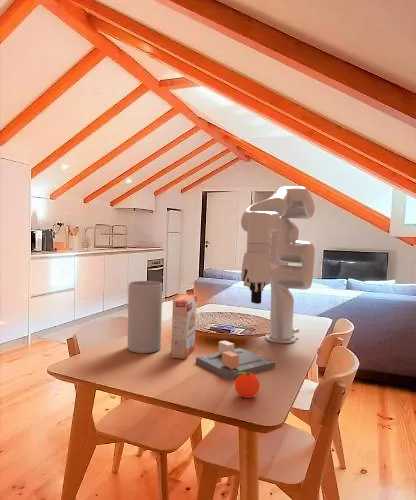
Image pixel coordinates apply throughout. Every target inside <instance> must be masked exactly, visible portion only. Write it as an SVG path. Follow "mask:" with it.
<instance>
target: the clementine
mask: <svg viewBox="0 0 416 500" xmlns="http://www.w3.org/2000/svg"><path fill="white" fill-rule="evenodd" d="M237 374H240V375H239V376H238V377H237V378H235V382H234V389H235V391H236V393H237V395H239V396H240V397H242V398H244V399H252V398H253V397H256V395H257V394H258V392H260V387H261V384H260V380H259V378H258V377H257V376H256V374H255V373H250V372H239V373H237ZM235 375H236V374H235ZM233 377H234V376H233Z"/></svg>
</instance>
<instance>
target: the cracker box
mask: <svg viewBox="0 0 416 500" xmlns="http://www.w3.org/2000/svg"><path fill="white" fill-rule="evenodd" d="M197 298H198V296H197V294H185V293H184V294H182V295H180V296H178V297H177V298H175V299H174V300H173V301H172V318H171V320H172V323H171V343H170V344H171V345H170V347H171V348H170V349H171V350H170V358H173V359H181V360H186V359H187V358H188V357H189V355H190V354H191V353H192V352H193V350H194V349H195V343H196V341H195V339H196V324H197V323H196V321H197V318H196V317H197V301H198V300H197Z"/></svg>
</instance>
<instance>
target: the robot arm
mask: <svg viewBox="0 0 416 500" xmlns="http://www.w3.org/2000/svg"><path fill="white" fill-rule="evenodd" d="M314 214H315V202H314V199H313V197H312V194H311V192H310V190H309V189H308V188H306V187H305V186H279V187H278V188H276V189H275V190H274V191H273V193H271V195H270V196H269V198H267V199H264V200H261V201H260V200H259V201H258V202H255V203H253V204H251V205H249V206H248V207H247V208H246V209H245V210H244V212H243V214H242V216H241V219H240V226H241V229H242V230H243V231H245V232H246V252H244V255H243V259H242V266H241V271H240V272H241V273H240V274H241V276H240V279H241V281H242V282H243V286H244V287H247V288H248V289H249V291H250V292H251V294H250V295H251V297H250V302H251V303H252V304H256V305H258V304H259V305H260V304H262V292H264V289H265V287H266V286H268V285H270V308H269V309H270V312H269V314H270V315H269V332H270V331H271V332H272V333H271V334H270V335H268V336H266V335H265V339H266V340H267V341H269V342H272V343H275V344H277V343H278V344H292V343H295V342H296V340H297V338H296V336H295V335H296V334H299V333H300V329H299V328H298V327H297V328H294V327H293V326H294V308H295V307H294V306H295V304H294V303H295V301H294V295H293V294H292V293H291V291H290V290H291V289H293V290H309V289H311V286H312V284H313V278H314V267H315V266H314V265H315V258H316V255H315V254H316V252H315V251H316V250H315V245H314V243H312V242H311V241H307V240H299V234H300V232H299V231H300V230H299V228H298V226H297V225H296V223H295V222H294V220H292V219H297V220H298V219H299V220H301V219H305V220H307V219H311V218H312V217H313V216H314ZM275 233H278V234H277V235H278V236H277V242H276V251H275V253H276V254H275V255H276V257H275V258H276V259H277V261H279V262H281V263H286V264H277V265H274V266H272V257H271V256H272V255H271V253H270V249H271V245H270V242H271V240H270V239H271V234H275ZM287 263H288V264H287ZM289 264H299V265H289ZM300 265H301V266H300Z"/></svg>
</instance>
